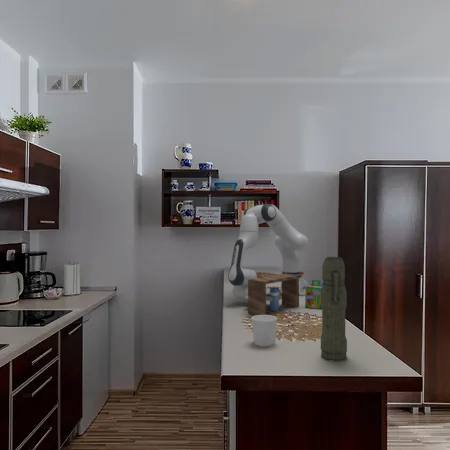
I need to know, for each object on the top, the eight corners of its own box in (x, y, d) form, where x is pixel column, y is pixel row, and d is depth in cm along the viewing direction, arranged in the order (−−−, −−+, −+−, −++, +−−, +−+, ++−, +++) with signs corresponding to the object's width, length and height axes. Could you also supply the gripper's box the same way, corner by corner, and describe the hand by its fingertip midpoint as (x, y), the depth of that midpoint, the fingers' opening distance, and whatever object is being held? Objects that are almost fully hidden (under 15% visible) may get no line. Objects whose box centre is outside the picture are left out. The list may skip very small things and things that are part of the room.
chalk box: (305, 307, 212) (304, 280, 212) (309, 304, 220) (309, 278, 220) (322, 309, 208) (321, 281, 208) (326, 306, 216) (326, 279, 216)
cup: (260, 337, 160) (260, 313, 160) (282, 342, 153) (281, 317, 153) (246, 343, 152) (246, 318, 152) (268, 349, 146) (267, 322, 146)
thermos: (341, 350, 143) (341, 255, 143) (351, 362, 131) (351, 259, 131) (317, 350, 143) (316, 255, 143) (325, 362, 131) (325, 259, 131)
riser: (284, 304, 221) (284, 273, 221) (299, 307, 214) (298, 275, 213) (248, 313, 200) (247, 279, 200) (262, 317, 193) (262, 281, 193)
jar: (273, 308, 210) (273, 286, 210) (280, 310, 207) (280, 287, 207) (267, 310, 207) (267, 287, 207) (275, 311, 203) (274, 288, 203)
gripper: (243, 291, 209) (262, 295, 199) (267, 286, 223) (287, 289, 213) (243, 303, 209) (262, 307, 199) (268, 297, 223) (287, 301, 213)
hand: (275, 298), depth 206 cm, fingers closed on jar, 5 cm apart
